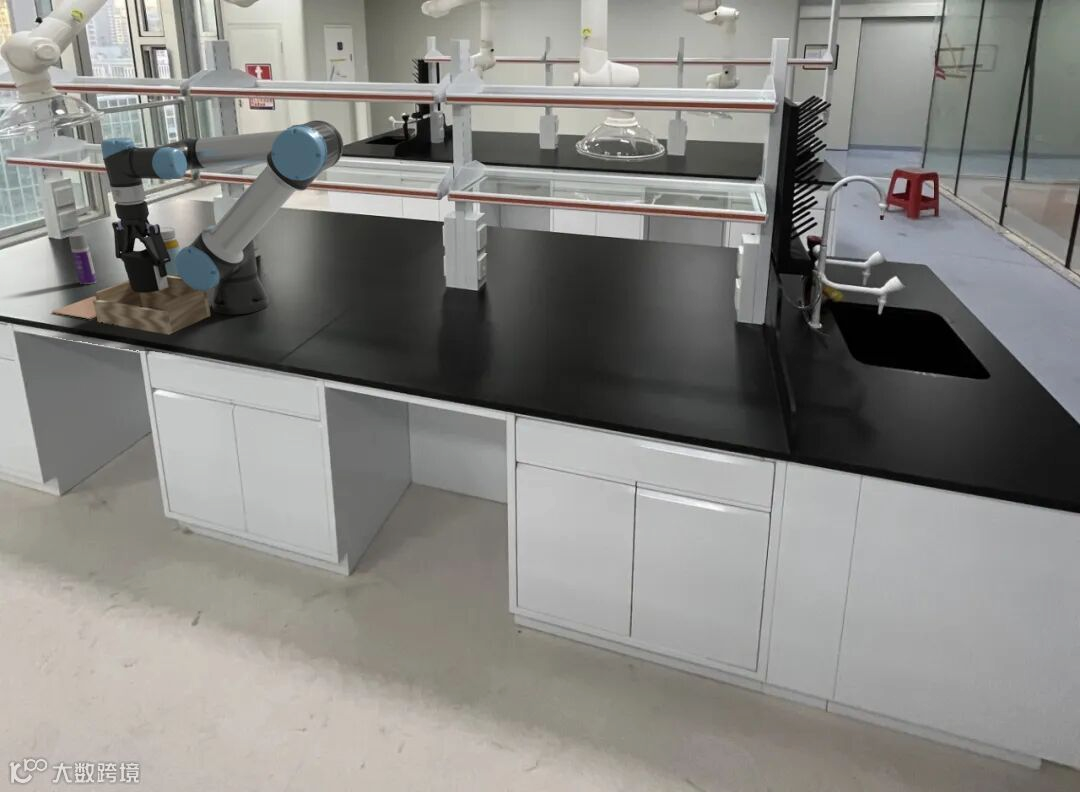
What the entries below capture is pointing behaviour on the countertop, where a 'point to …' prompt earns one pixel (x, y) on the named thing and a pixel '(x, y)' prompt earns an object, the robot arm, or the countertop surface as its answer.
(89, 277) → the container
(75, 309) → the terracotta tile
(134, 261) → the pen holder
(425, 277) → the countertop surface
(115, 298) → the open wooden box
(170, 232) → the bottle
